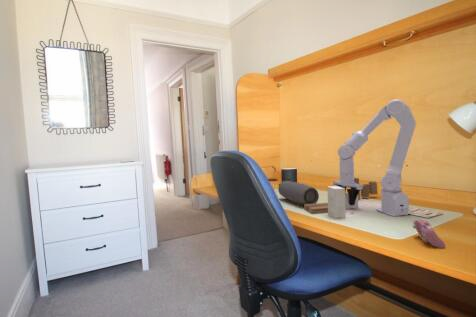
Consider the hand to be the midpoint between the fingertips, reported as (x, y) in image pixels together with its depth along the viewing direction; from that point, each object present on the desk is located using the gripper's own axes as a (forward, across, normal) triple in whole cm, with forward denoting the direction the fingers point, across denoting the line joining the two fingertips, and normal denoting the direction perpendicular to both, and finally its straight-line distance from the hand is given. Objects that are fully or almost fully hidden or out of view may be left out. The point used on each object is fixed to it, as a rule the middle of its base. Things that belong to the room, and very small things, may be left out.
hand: (347, 203), depth 117 cm
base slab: (+2, +1, +12) cm, 12 cm away
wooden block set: (+2, +10, -18) cm, 21 cm away
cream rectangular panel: (+2, -8, +6) cm, 10 cm away
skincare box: (+2, -8, +14) cm, 17 cm away
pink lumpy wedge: (+2, -41, +10) cm, 42 cm away
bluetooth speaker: (+2, +19, +12) cm, 23 cm away
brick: (+2, 0, 0) cm, 2 cm away
